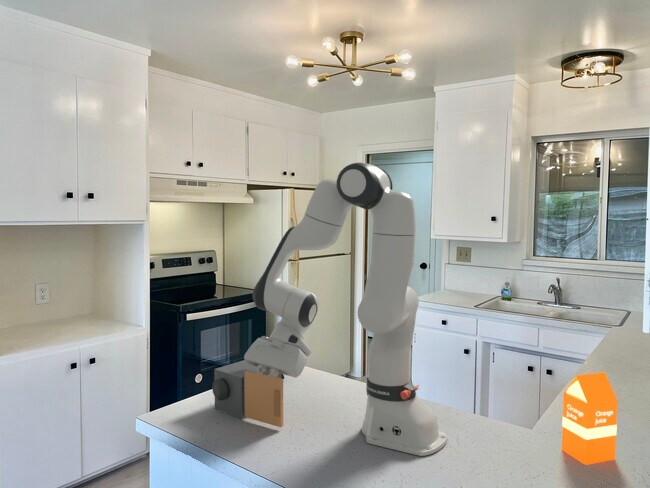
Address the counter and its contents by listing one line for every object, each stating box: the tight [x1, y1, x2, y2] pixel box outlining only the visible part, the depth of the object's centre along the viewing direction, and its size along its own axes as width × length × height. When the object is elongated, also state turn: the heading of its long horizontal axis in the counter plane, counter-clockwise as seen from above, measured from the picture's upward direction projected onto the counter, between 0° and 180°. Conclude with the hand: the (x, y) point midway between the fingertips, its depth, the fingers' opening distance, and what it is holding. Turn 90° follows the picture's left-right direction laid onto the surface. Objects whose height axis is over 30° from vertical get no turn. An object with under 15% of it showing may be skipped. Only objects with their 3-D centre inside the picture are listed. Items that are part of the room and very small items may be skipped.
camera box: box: [211, 360, 281, 420], centre depth 149 cm, size 12×18×12 cm
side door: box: [244, 370, 284, 428], centre depth 136 cm, size 2×14×13 cm, turn 58°
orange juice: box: [561, 371, 618, 465], centre depth 120 cm, size 8×9×20 cm
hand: (260, 382), depth 138 cm, fingers closed
